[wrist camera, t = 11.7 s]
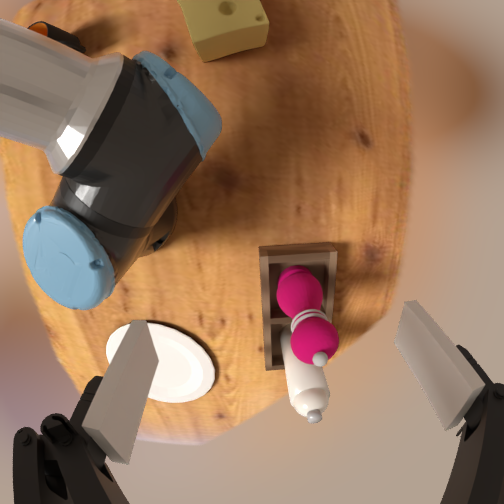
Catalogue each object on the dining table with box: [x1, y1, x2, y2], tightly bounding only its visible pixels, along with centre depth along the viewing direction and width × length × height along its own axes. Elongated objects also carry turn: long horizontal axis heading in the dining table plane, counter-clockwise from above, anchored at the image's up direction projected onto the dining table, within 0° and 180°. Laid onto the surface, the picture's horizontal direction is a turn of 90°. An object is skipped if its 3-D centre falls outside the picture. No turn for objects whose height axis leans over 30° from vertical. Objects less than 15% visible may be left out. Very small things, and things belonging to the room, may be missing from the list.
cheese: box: [177, 0, 269, 62], centre depth 28 cm, size 10×11×10 cm
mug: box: [27, 21, 86, 53], centre depth 27 cm, size 8×12×10 cm
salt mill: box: [280, 323, 330, 423], centre depth 43 cm, size 6×6×20 cm
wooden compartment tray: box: [259, 242, 337, 371], centre depth 49 cm, size 24×12×4 cm, turn 4°
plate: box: [106, 322, 215, 403], centre depth 56 cm, size 25×25×2 cm
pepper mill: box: [277, 265, 339, 367], centre depth 38 cm, size 7×7×20 cm
